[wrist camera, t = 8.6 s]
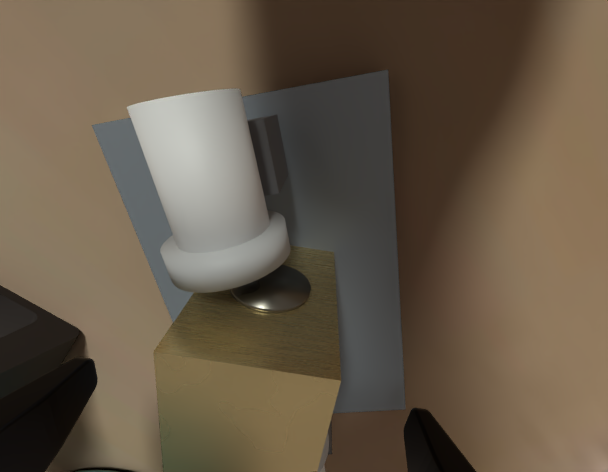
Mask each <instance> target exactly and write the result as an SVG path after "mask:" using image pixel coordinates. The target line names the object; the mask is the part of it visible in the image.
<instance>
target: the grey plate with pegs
mask: <svg viewBox="0 0 608 472" xmlns="http://www.w3.org/2000/svg"><path fill="white" fill-rule="evenodd" d="M127 109H128V112H129V115H130V117H131V118H127V119H122V120H117V121H111V122H106V123H101V124H95V125H92V127H93V129H94V132H95V134H96V137H97V139H98V142H99V144H100V146H101V149H102V151H103V154H104V156H105V158H106V161H107V163H108V166H109V168H110V171H111V173H112V175H113V178H114V180H115V183H116V185H117V188H118V190H119V192H120V195H121V197H122V200H123V202H124V205H125V207H126V209H127V212H128V214H129V217H130V219H131V222H132V224H133V226H134V229H135V231H136V234H137V236H138V239H139V241H140V243H141V246H142V248H143V251H144V253H145V255H146V258H147V260H148V263H149V265H150V268H151V270H152V272H153V275H154V277H155V280H156V282H157V285H158V287H159V289H160V292H161V294H162V297H163V299H164V302H165V304H166V306H167V309H168V311H169V314H170V316H171V319H172V321H173V323H174V321H175V320H176V318H177V317H178V315H179V314H180V312H181V311H182V309H183V308H184V306H185V305H186V303H187V302H188V301H189V299H190V298H191V296H192V295H193V293H208V292H218V291H224V290H228V289H233V288H236V287H240V286H243V285H246V284H248V283H251V282H253V281H256V280H258V279H260V278H262V277H264V276H266V275H268V274H269V273H271V272H273V271H274V270H275V269H277V268H278V267H279V266H280V265H281V264H283V263H284V261H285V260H286V259H287V258H288V256H289V254H290V249H291V247H290V245H291V246H297V247H304V248H310V249H317V250H323V251H330V252H334V261H335V279H336V297H337V315H338V333H339V351H340V369H341V383H340V387H339V391H338V395H337V398H336V402H335V406H334V410H333V413H348V412H367V411H385V410H404V409H406V407H405V387H404V368H403V348H402V329H401V309H400V290H399V270H398V251H397V231H396V212H395V192H394V173H393V154H392V134H391V115H390V95H389V76H388V70H383V71H377V72H372V73H367V74H361V75H356V76H351V77H345V78H340V79H335V80H329V81H324V82H319V83H314V84H308V85H303V86H298V87H292V88H287V89H282V90H276V91H271V92H266V93H260V94H255V95H250V96H244V97H242V95H241V90H240V89H221V90H212V91H204V92H197V93H190V94H183V95H177V96H171V97H166V98H160V99H155V100H151V101H146V102H142V103H138V104H134V105H131V106H128V107H127ZM328 454H332V427H331V421H330V425H329V429H328V433H327V437H326V440H325V444H324V448H323V452H322V456H321V459H320V463H319V467H318V471H317V472H326V471H325V466H324V464H325V461H326V459H327V455H328Z"/></svg>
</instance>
